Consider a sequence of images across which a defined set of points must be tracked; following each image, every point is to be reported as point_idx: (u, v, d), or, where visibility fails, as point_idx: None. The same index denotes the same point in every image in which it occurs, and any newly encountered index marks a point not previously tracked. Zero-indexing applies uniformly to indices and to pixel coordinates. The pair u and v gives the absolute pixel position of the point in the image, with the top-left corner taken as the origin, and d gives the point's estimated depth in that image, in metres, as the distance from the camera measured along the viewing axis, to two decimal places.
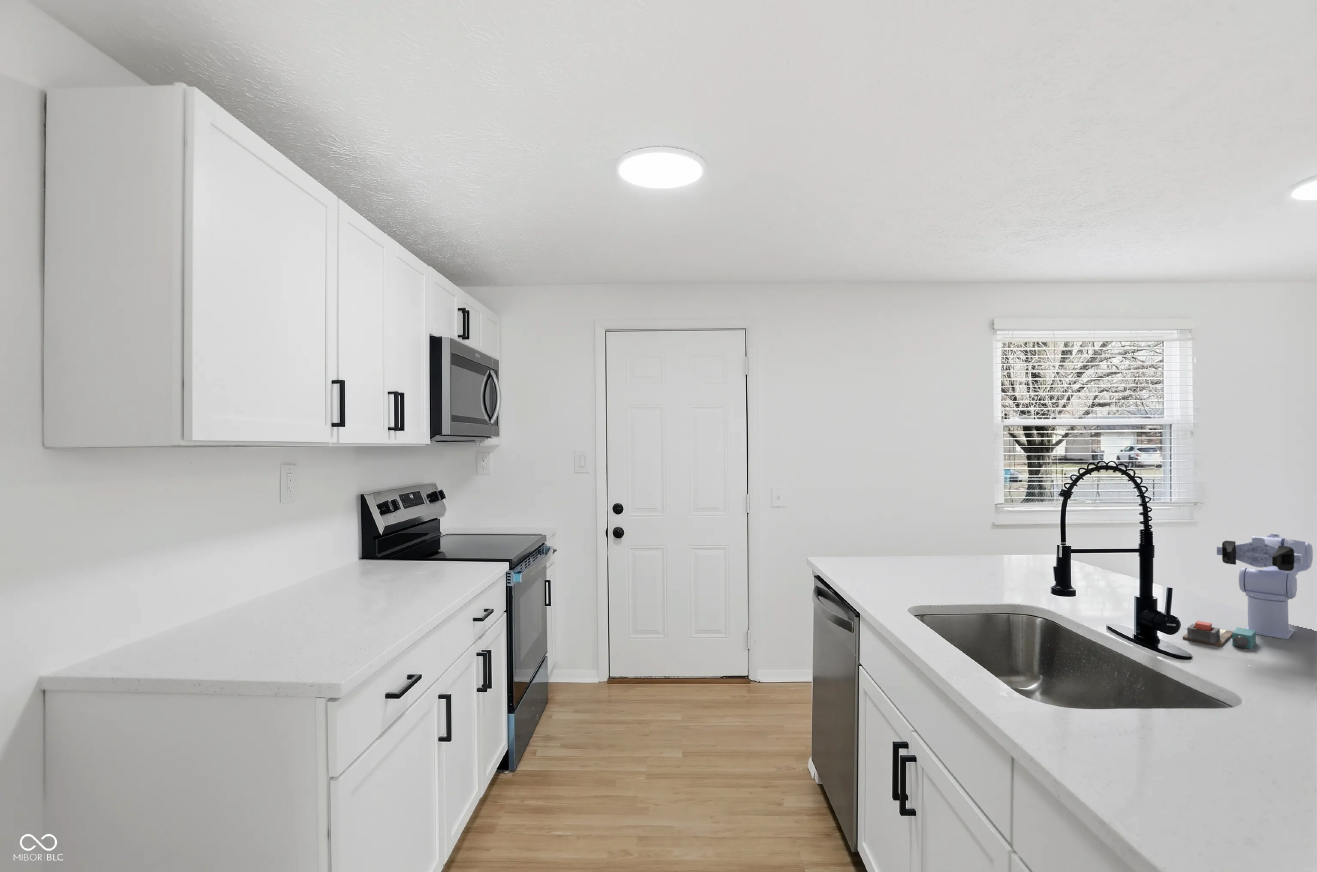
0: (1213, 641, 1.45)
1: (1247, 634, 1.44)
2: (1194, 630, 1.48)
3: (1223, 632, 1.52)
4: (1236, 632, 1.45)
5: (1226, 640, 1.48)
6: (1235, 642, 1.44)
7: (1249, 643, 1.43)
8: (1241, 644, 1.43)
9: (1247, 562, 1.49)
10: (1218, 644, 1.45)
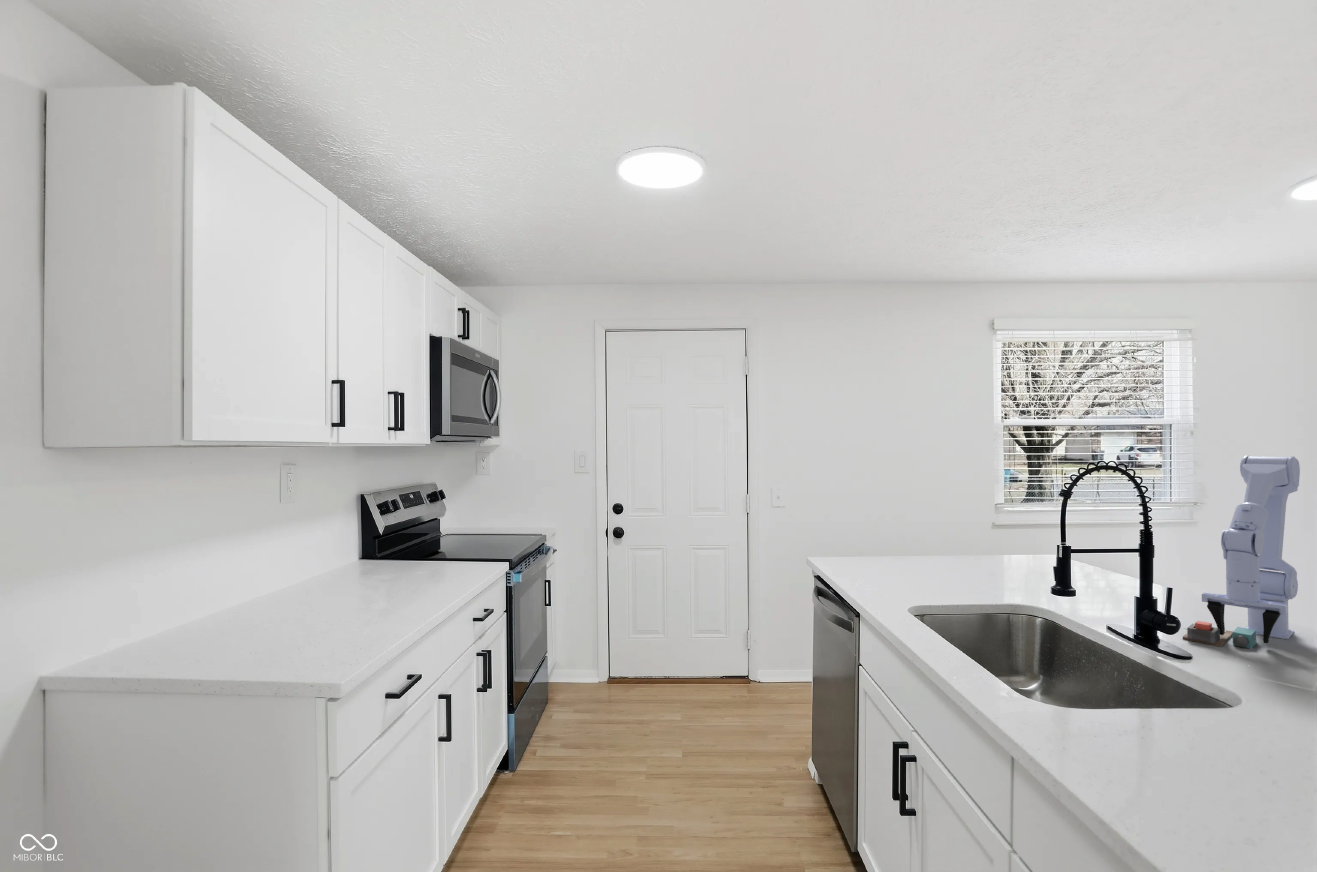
0: (1213, 641, 1.45)
1: (1247, 633, 1.44)
2: (1194, 630, 1.48)
3: None
4: (1236, 631, 1.45)
5: (1226, 640, 1.48)
6: (1235, 641, 1.44)
7: (1249, 642, 1.43)
8: (1242, 643, 1.43)
9: None
10: (1218, 644, 1.45)
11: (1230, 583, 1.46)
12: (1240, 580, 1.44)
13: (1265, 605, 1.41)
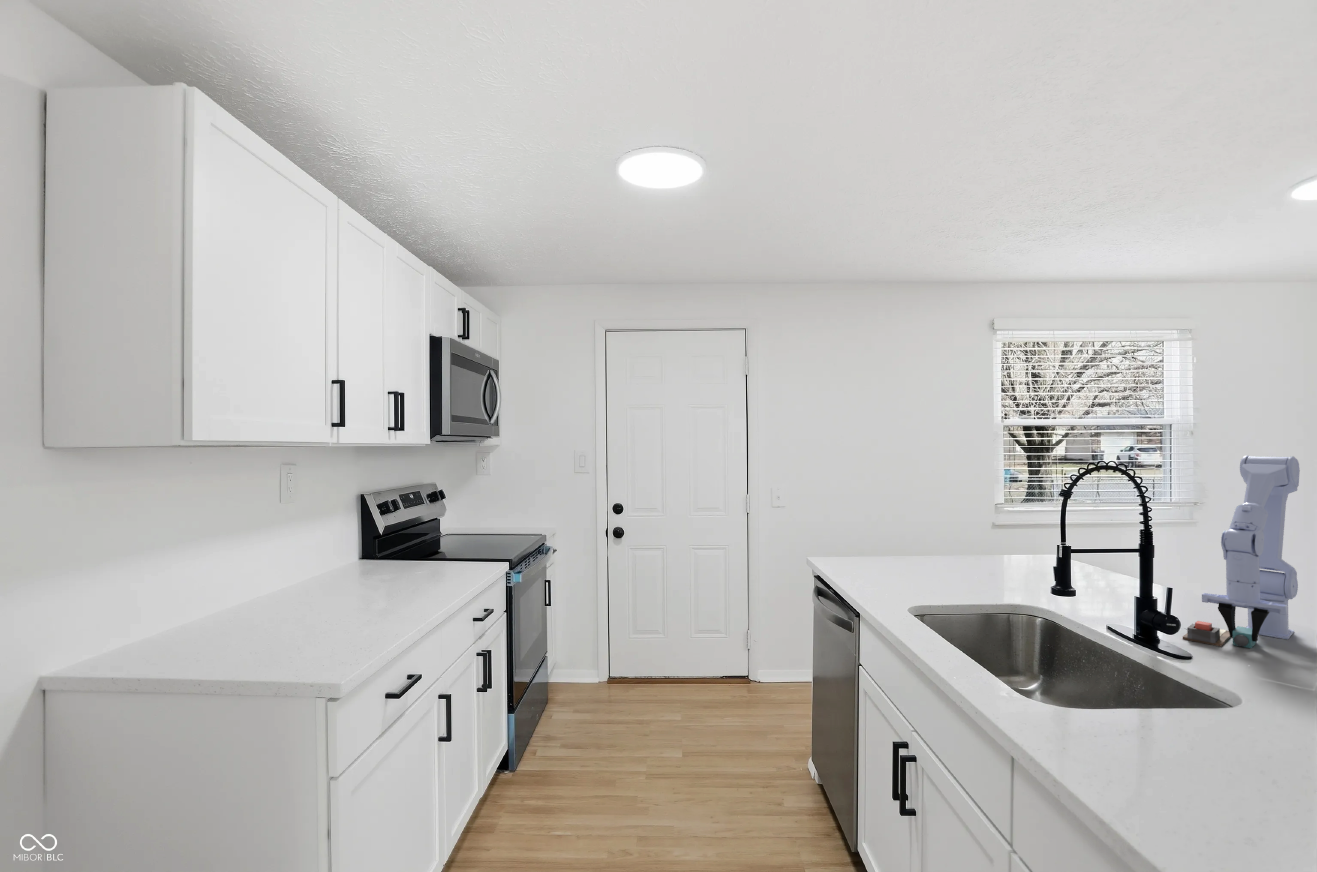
0: (1213, 641, 1.45)
1: (1247, 633, 1.44)
2: (1194, 630, 1.48)
3: (1223, 632, 1.52)
4: (1236, 631, 1.45)
5: (1226, 640, 1.48)
6: (1235, 641, 1.44)
7: (1249, 642, 1.43)
8: (1242, 643, 1.43)
9: None
10: (1218, 644, 1.45)
11: (1230, 583, 1.46)
12: (1240, 580, 1.44)
13: (1265, 605, 1.41)
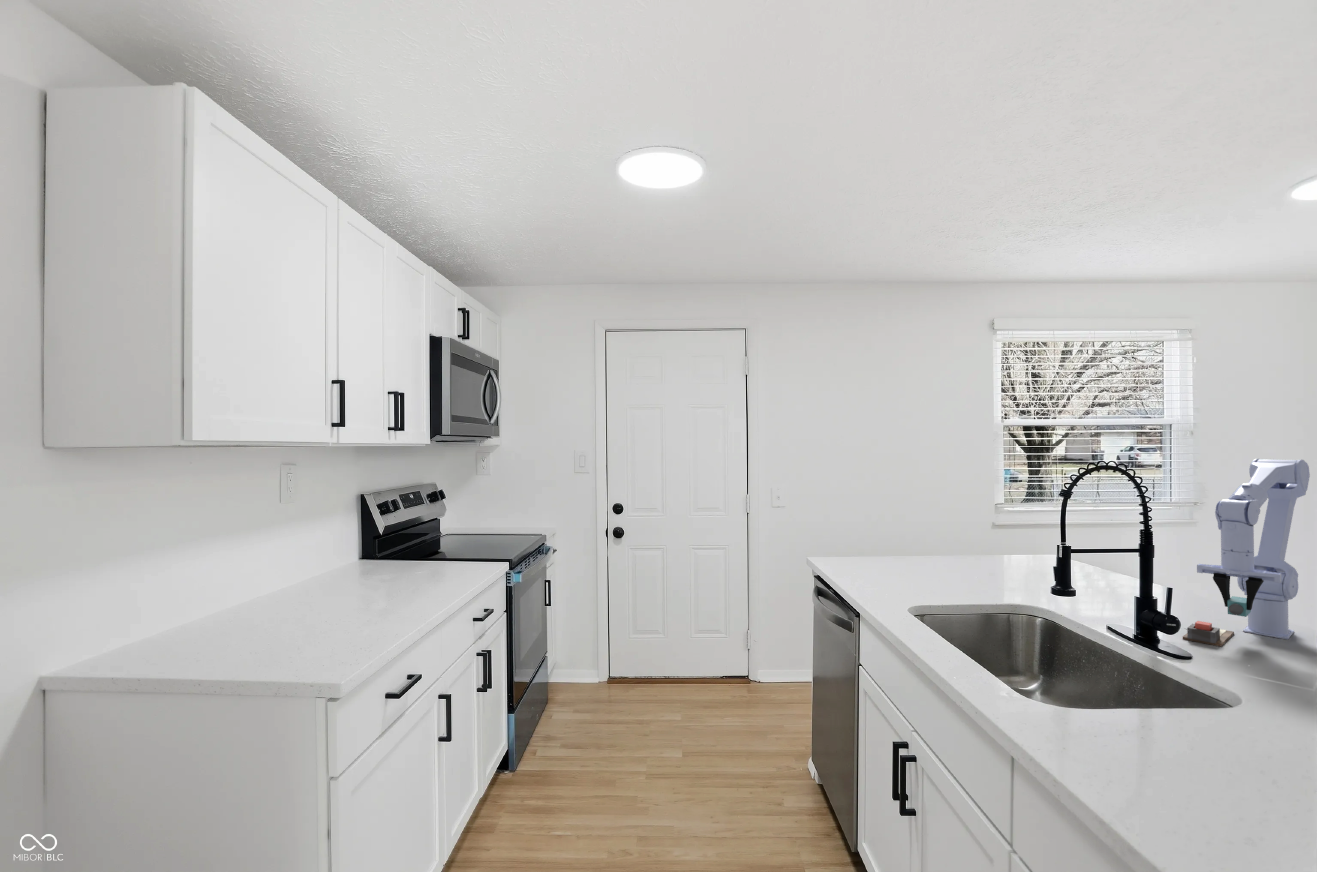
0: (1213, 641, 1.45)
1: (1242, 602, 1.45)
2: (1194, 630, 1.48)
3: (1223, 632, 1.52)
4: (1231, 600, 1.47)
5: (1226, 640, 1.48)
6: (1230, 610, 1.45)
7: (1244, 610, 1.44)
8: (1237, 611, 1.44)
9: None
10: (1218, 644, 1.45)
11: (1225, 553, 1.47)
12: (1234, 550, 1.45)
13: (1260, 574, 1.42)
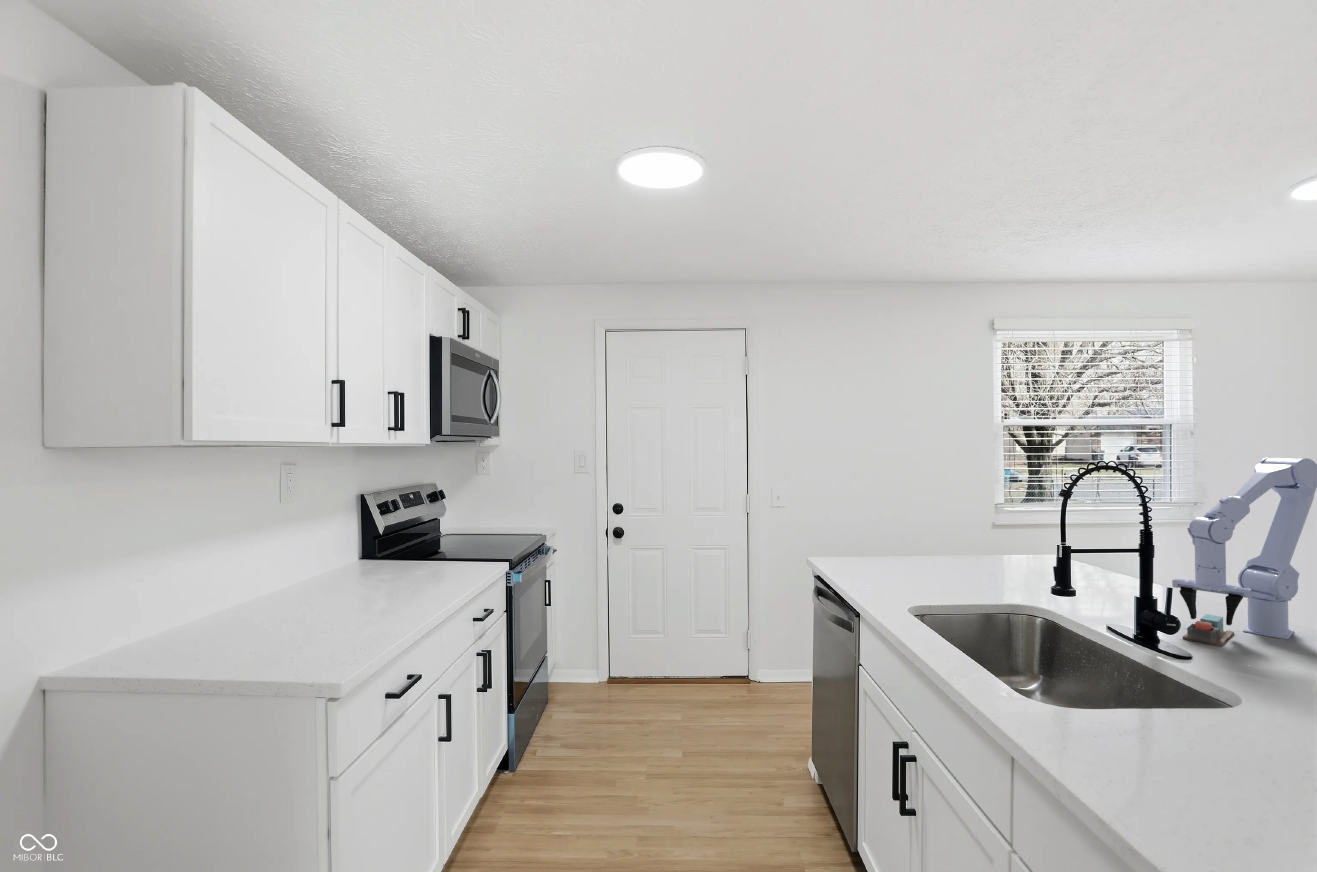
0: (1213, 641, 1.45)
1: (1214, 620, 1.51)
2: (1194, 630, 1.48)
3: (1223, 632, 1.52)
4: (1204, 618, 1.53)
5: (1226, 640, 1.48)
6: None
7: None
8: None
9: None
10: (1218, 644, 1.45)
11: (1198, 569, 1.53)
12: (1201, 565, 1.52)
13: (1231, 589, 1.49)
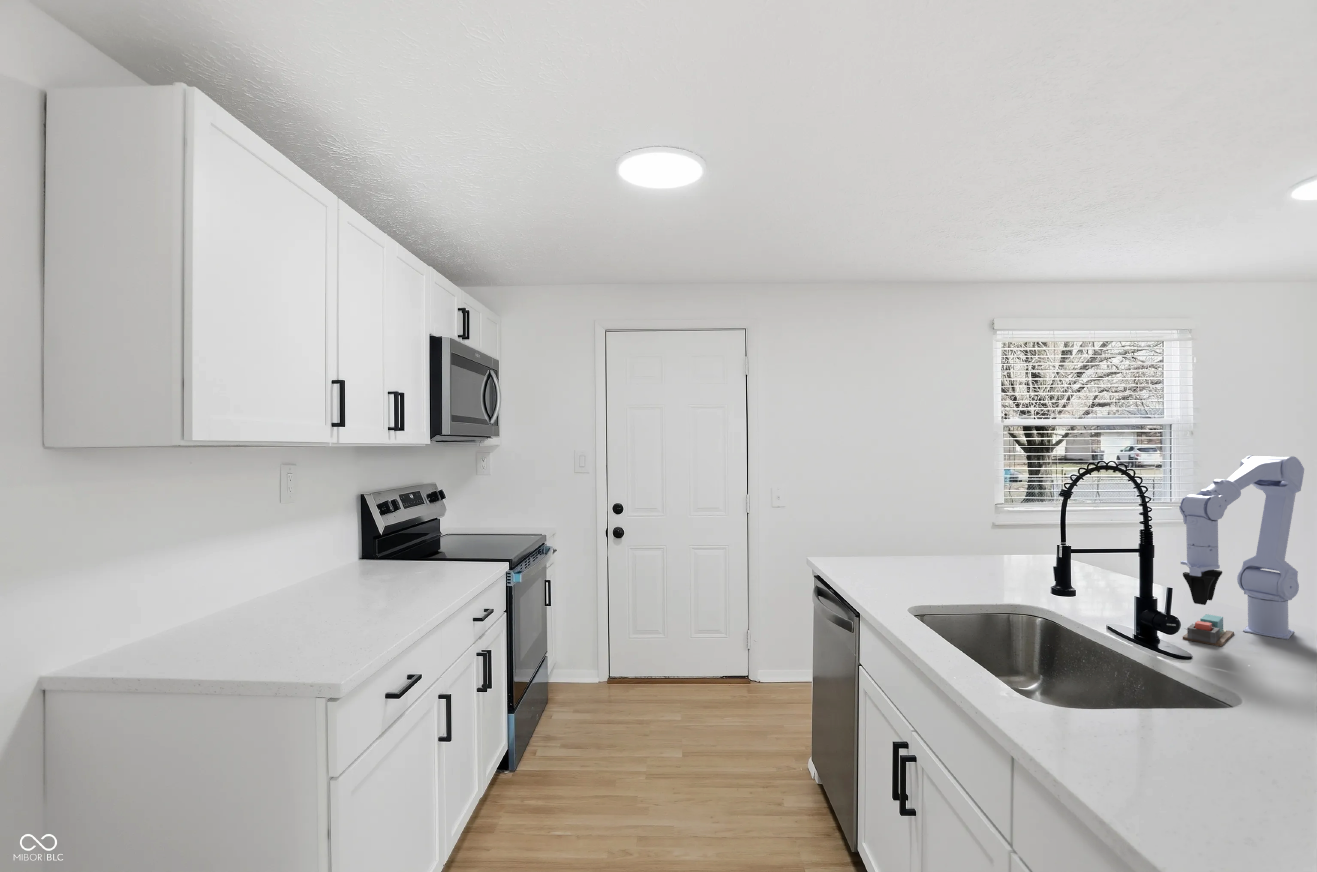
0: (1213, 641, 1.45)
1: (1214, 620, 1.51)
2: (1194, 630, 1.48)
3: (1223, 632, 1.52)
4: (1204, 618, 1.53)
5: (1226, 640, 1.48)
6: None
7: None
8: None
9: None
10: (1218, 644, 1.45)
11: None
12: (1195, 544, 1.47)
13: (1188, 566, 1.47)
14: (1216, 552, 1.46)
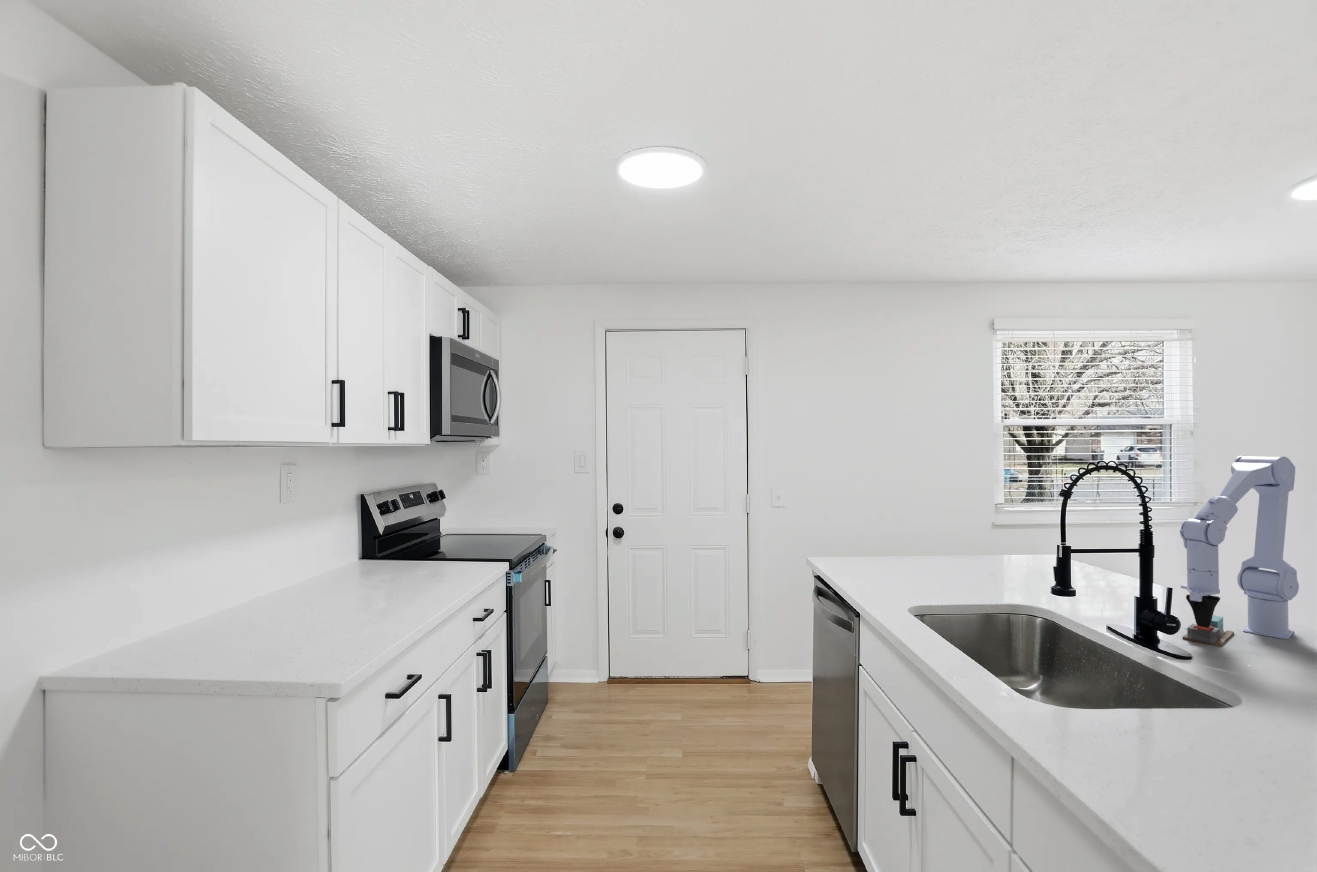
0: (1213, 641, 1.45)
1: (1214, 620, 1.51)
2: (1194, 630, 1.48)
3: (1223, 632, 1.52)
4: None
5: (1226, 640, 1.48)
6: None
7: None
8: None
9: None
10: (1218, 644, 1.45)
11: None
12: (1195, 569, 1.47)
13: (1188, 590, 1.47)
14: (1216, 577, 1.46)
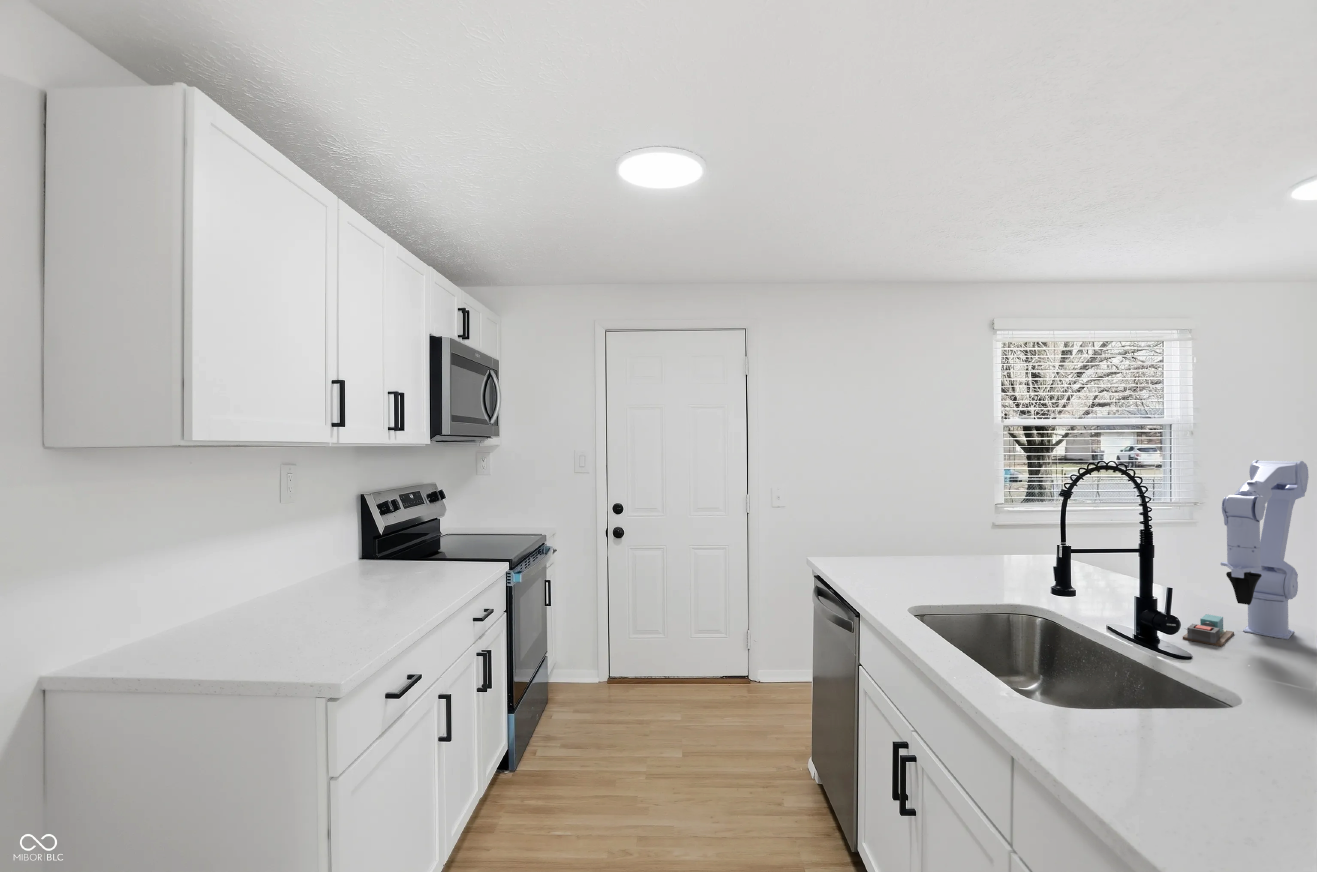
0: (1213, 641, 1.45)
1: (1214, 620, 1.51)
2: (1194, 630, 1.48)
3: (1223, 632, 1.52)
4: (1204, 618, 1.53)
5: (1226, 640, 1.48)
6: None
7: None
8: None
9: None
10: (1218, 644, 1.45)
11: None
12: (1241, 545, 1.44)
13: (1229, 567, 1.45)
14: (1258, 553, 1.44)
